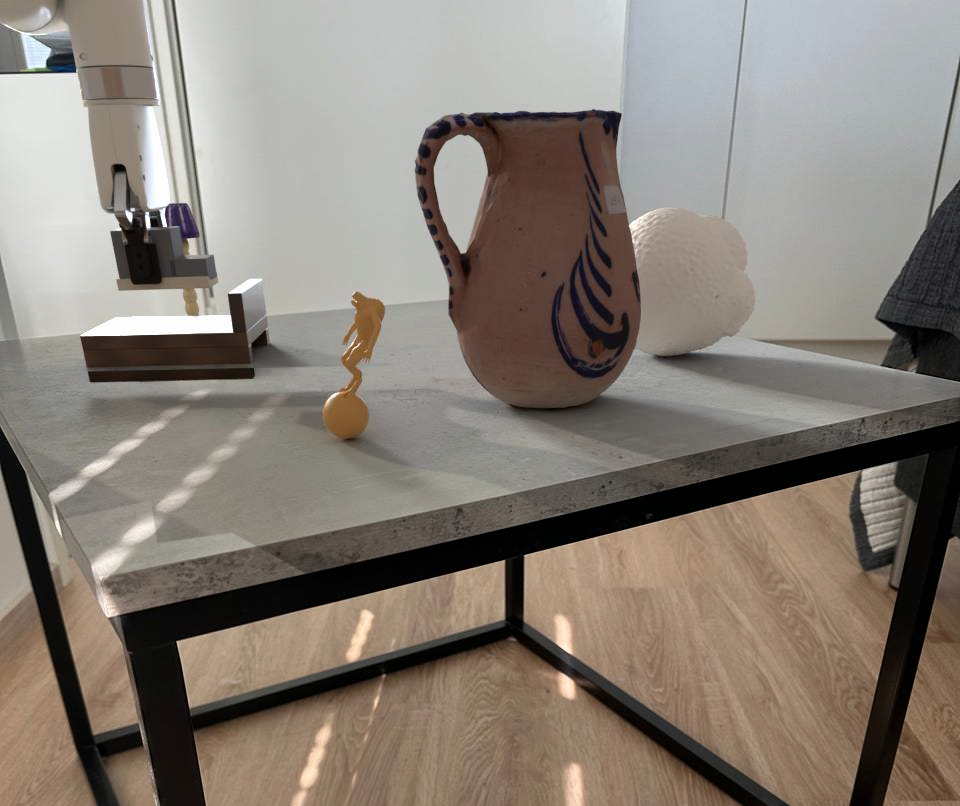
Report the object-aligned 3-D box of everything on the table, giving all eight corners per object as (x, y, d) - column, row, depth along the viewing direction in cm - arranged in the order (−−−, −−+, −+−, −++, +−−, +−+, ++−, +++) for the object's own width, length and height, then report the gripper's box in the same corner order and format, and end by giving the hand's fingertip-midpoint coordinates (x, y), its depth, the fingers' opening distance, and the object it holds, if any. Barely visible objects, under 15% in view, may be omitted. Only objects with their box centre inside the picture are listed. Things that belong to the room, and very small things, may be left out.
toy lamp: (173, 340, 123) (150, 203, 116) (205, 336, 126) (185, 201, 118) (188, 345, 120) (166, 204, 112) (221, 340, 123) (201, 202, 115)
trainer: (118, 290, 101) (106, 231, 98) (130, 285, 105) (119, 227, 102) (209, 288, 101) (200, 228, 98) (218, 282, 105) (209, 225, 102)
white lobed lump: (556, 352, 112) (559, 208, 105) (649, 333, 122) (658, 200, 115) (690, 378, 99) (704, 215, 91) (782, 353, 109) (802, 205, 102)
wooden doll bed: (89, 382, 102) (71, 296, 98) (124, 360, 112) (108, 281, 108) (252, 379, 102) (241, 293, 98) (271, 357, 113) (262, 278, 108)
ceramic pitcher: (672, 405, 89) (697, 105, 77) (482, 439, 80) (477, 105, 68) (569, 372, 102) (576, 113, 90) (396, 398, 93) (380, 113, 81)
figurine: (316, 428, 84) (302, 288, 78) (380, 421, 86) (371, 283, 80) (335, 453, 77) (321, 301, 71) (404, 445, 79) (396, 296, 73)
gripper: (110, 95, 101) (143, 272, 110) (51, 87, 87) (94, 292, 95) (178, 93, 101) (205, 270, 110) (131, 84, 87) (167, 290, 95)
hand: (153, 279), depth 103 cm, fingers closed on trainer, 4 cm apart
